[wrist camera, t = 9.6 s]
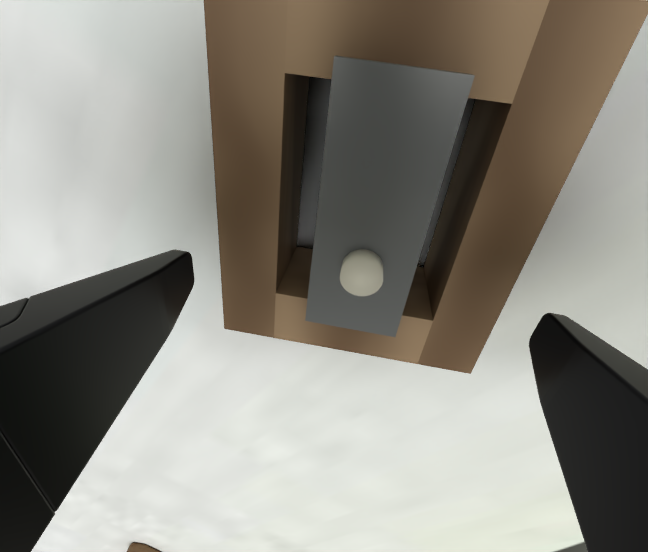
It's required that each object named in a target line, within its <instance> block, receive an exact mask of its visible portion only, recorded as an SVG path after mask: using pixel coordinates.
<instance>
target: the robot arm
mask: <svg viewBox="0 0 648 552" xmlns="http://www.w3.org/2000/svg"><path fill="white" fill-rule="evenodd" d="M193 285H194V272H193V263H192V256H191V254H190V253H189V252H186V251H180V250H171V251H168V252H165V253H162V254H159V255H156V256H153V257H150V258H146V259H143V260H140V261H137V262H134V263H131V264H128V265H125V266H122V267H119V268H116V269H113V270H110V271H107V272H104V273H101V274H98V275H95V276H92V277H88V278H85V279H82V280H79V281H76V282H73V283H70V284H67V285H64V286H61V287H58V288H55V289H52V290H49V291H46V292H43V293H40V294H37V295H34V296H31V297H30V298H29V299H28V298H24V299H21V300H18V301H15V302H12V303H9V304H6V305H3V306H0V552H31V551H32V549H33V547H34V546H35V544H36V543H37V541H38V540H39V538H40V537H41V535H42V533H43V532H44V530H45V529H46V527H47V526H48V524H49V523H50V521H51V519H52V518H53V516H54V515H55V511H57V509H58V508H59V506H60V505H61V503H62V502H63V500H64V499H65V497H66V495H67V494H68V492H69V491H70V489H71V488H72V486H73V485H74V483H75V481H76V480H77V478H78V477H79V475H80V474H81V472H82V470H83V469H84V467H85V466H86V464H87V463H88V461H89V460H90V458H91V456H92V455H93V453H94V452H95V450H96V449H97V447H98V446H99V444H100V442H101V441H102V439H103V438H104V436H105V435H106V433H107V431H108V430H109V428H110V427H111V425H112V424H113V422H114V421H115V419H116V417H117V416H118V414H119V413H120V411H121V410H122V408H123V407H124V405H125V403H126V402H127V400H128V399H129V397H130V396H131V394H132V392H133V391H134V389H135V388H136V386H137V385H138V383H139V382H140V380H141V378H142V377H143V375H144V374H145V372H146V371H147V369H148V368H149V366H150V364H151V363H152V361H153V360H154V358H155V357H156V355H157V353H158V352H159V350H160V349H161V347H162V346H163V344H164V343H165V341H166V339H167V338H168V336H169V334H170V333H171V331H172V329H173V327H174V325H175V323H176V321H177V319H178V317H179V315H180V313H181V311H182V308H183V306H184V304H185V302H186V300H187V298H188V296H189V294H190V292H191V290H192V288H193ZM529 348H530V353H531V359H532V364H533V369H534V374H535V379H536V384H537V389H538V394H539V398H540V402H541V406H542V409H543V413H544V416H545V419H546V422H547V425H548V428H549V431H550V435H551V438H552V441H553V444H554V447H555V450H556V453H557V457H558V460H559V463H560V466H561V469H562V472H563V475H564V478H565V482H566V485H567V488H568V491H569V494H570V497H571V500H572V504H573V507H574V510H575V513H576V516H577V519H578V522H579V525H580V529H581V532H582V535H583V538H584V541H585V544H586V547H587V550H588V552H648V369H646V368H645V367H643V366H642V365H640V364H638V363H637V362H635V361H634V360H632V359H631V358H629V357H628V356H626V355H625V354H623V353H622V352H620V351H619V350H617V349H616V348H614V347H612V346H611V345H609V344H608V343H606V342H605V341H603V340H602V339H600V338H599V337H597V336H596V335H594V334H593V333H591V332H590V331H588V330H587V329H585V328H583V327H582V326H580V325H579V324H577V323H576V322H574V321H573V320H571V319H570V318H568V317H566V316H564V315H559V314H553V313H547V314H545V315H544V316H543V317H542V318H541V320H540V322H539V323H538V325H537V327H536V329H535V330H534V332H533V334H532V335H531V338H530V341H529Z"/></svg>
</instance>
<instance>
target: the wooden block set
mask: <svg viewBox="0 0 648 552" xmlns="http://www.w3.org/2000/svg"><path fill="white" fill-rule="evenodd" d="M127 552H161V551H159V550H157V549H154V548H152V547H150V546H148V545H146V544H142V543H135V542H133V543H132V544H130V546H129V548H128V550H127Z"/></svg>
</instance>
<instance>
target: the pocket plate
mask: <svg viewBox="0 0 648 552" xmlns="http://www.w3.org/2000/svg"><path fill="white" fill-rule="evenodd" d="M204 11H205V27H206V43H207V59H208V75H209V91H210V107H211V122H212V138H213V154H214V170H215V186H216V202H217V218H218V234H219V250H220V266H221V282H222V298H223V314H224V329H229V330H235V331H240V332H246V333H251V334H257V335H262V336H267V337H273V338H278V339H284V340H289V341H295V342H300V343H306V344H311V345H317V346H322V347H328V348H333V349H339V350H344V351H349V352H355V353H360V354H366V355H371V356H377V357H382V358H388V359H393V360H399V361H404V362H410V363H415V364H421V365H426V366H431V367H437V368H442V369H448V370H453V371H459V372H464V373H470V374H471V372H472V370H473V368H474V366H475V363H476V361H477V359H478V357H479V355H480V353H481V351H482V349H483V347H484V345H485V343H486V341H487V339H488V337H489V335H490V333H491V331H492V329H493V327H494V325H495V323H496V321H497V319H498V317H499V315H500V313H501V311H502V309H503V307H504V305H505V303H506V301H507V298H508V296H509V294H510V292H511V290H512V288H513V286H514V284H515V282H516V280H517V278H518V276H519V274H520V272H521V270H522V268H523V266H524V264H525V262H526V260H527V258H528V256H529V254H530V252H531V250H532V248H533V246H534V244H535V242H536V240H537V238H538V236H539V234H540V231H541V229H542V227H543V225H544V223H545V221H546V219H547V217H548V215H549V213H550V211H551V209H552V207H553V205H554V203H555V201H556V199H557V197H558V195H559V193H560V191H561V189H562V187H563V185H564V183H565V181H566V179H567V177H568V175H569V173H570V171H571V169H572V166H573V164H574V162H575V160H576V158H577V156H578V154H579V152H580V150H581V148H582V146H583V144H584V142H585V140H586V138H587V136H588V134H589V132H590V130H591V128H592V126H593V124H594V122H595V120H596V118H597V116H598V114H599V112H600V110H601V108H602V106H603V104H604V102H605V99H606V97H607V95H608V93H609V91H610V89H611V87H612V85H613V83H614V81H615V79H616V77H617V75H618V73H619V71H620V69H621V67H622V65H623V63H624V61H625V59H626V57H627V55H628V53H629V51H630V49H631V47H632V45H633V43H634V41H635V39H636V37H637V34H638V32H639V30H640V28H641V26H642V24H643V22H644V20H645V18H646V16H647V14H648V1H646V0H204ZM334 56H343V57H350V58H358V59H365V60H372V61H379V62H387V63H394V64H401V65H408V66H416V67H423V68H430V69H437V70H445V71H452V72H459V73H467V74H472V75H475V77H474V80H473V83H472V87H471V90H470V93H469V96H468V98H473V99H476V101H475V104H474V107H473V110H472V113H471V117H470V120H469V123H468V126H467V130H466V133H465V136H464V139H463V142H462V146H461V149H460V152H459V155H458V159H457V162H456V165H455V168H454V171H453V175H452V178H451V181H450V184H449V188H448V191H447V194H446V197H445V200H444V204H443V207H442V210H441V213H440V217H439V220H438V223H437V226H436V229H435V233H434V236H433V239H432V242H431V246H430V249H429V252H428V255H427V258H426V262H425V265H424V268H423V267H417V268H416V271H415V274H414V277H413V281H412V284H411V287H410V291H409V294H408V297H407V301H406V304H405V307H404V310H403V314H402V317H401V320H400V324H399V327H398V330H397V333H396V337H391V336H385V335H380V334H375V333H369V332H364V331H358V330H353V329H347V328H342V327H336V326H331V325H325V324H320V323H314V322H309V321H305V317H306V308H307V299H308V290H309V281H310V272H311V262H312V253H313V249H309V248H303V247H297V235H298V222H299V208H300V195H301V181H302V168H303V154H304V141H305V127H306V114H307V100H308V87H309V76H311V77H318V78H326V79H332V71H333V61H334Z"/></svg>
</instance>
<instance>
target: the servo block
mask: <svg viewBox="0 0 648 552" xmlns="http://www.w3.org/2000/svg"><path fill="white" fill-rule="evenodd" d="M474 77H475V75H472V74H467V73H459V72H452V71H445V70H437V69H430V68H423V67H416V66H408V65H401V64H394V63H387V62H379V61H372V60H365V59H358V58H350V57H343V56H334V61H333V71H332V80H331V89H330V98H329V107H328V116H327V125H326V134H325V144H324V153H323V162H322V171H321V180H320V189H319V198H318V208H317V217H316V226H315V235H314V244H313V253H312V262H311V272H310V281H309V290H308V299H307V308H306V317H305V321H309V322H314V323H320V324H325V325H331V326H336V327H342V328H347V329H353V330H358V331H364V332H369V333H375V334H380V335H385V336H391V337H396V333H397V330H398V327H399V324H400V320H401V317H402V314H403V310H404V307H405V304H406V301H407V297H408V294H409V291H410V287H411V284H412V281H413V277H414V274H415V271H416V268H417V264H418V261H419V258H420V254H421V251H422V248H423V245H424V241H425V238H426V235H427V231H428V228H429V225H430V222H431V218H432V215H433V212H434V208H435V205H436V202H437V198H438V195H439V192H440V189H441V185H442V182H443V179H444V175H445V172H446V169H447V166H448V162H449V159H450V156H451V152H452V149H453V146H454V143H455V139H456V136H457V133H458V129H459V126H460V123H461V119H462V116H463V113H464V110H465V106H466V103H467V100H468V96H469V93H470V90H471V87H472V83H473V80H474Z"/></svg>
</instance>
